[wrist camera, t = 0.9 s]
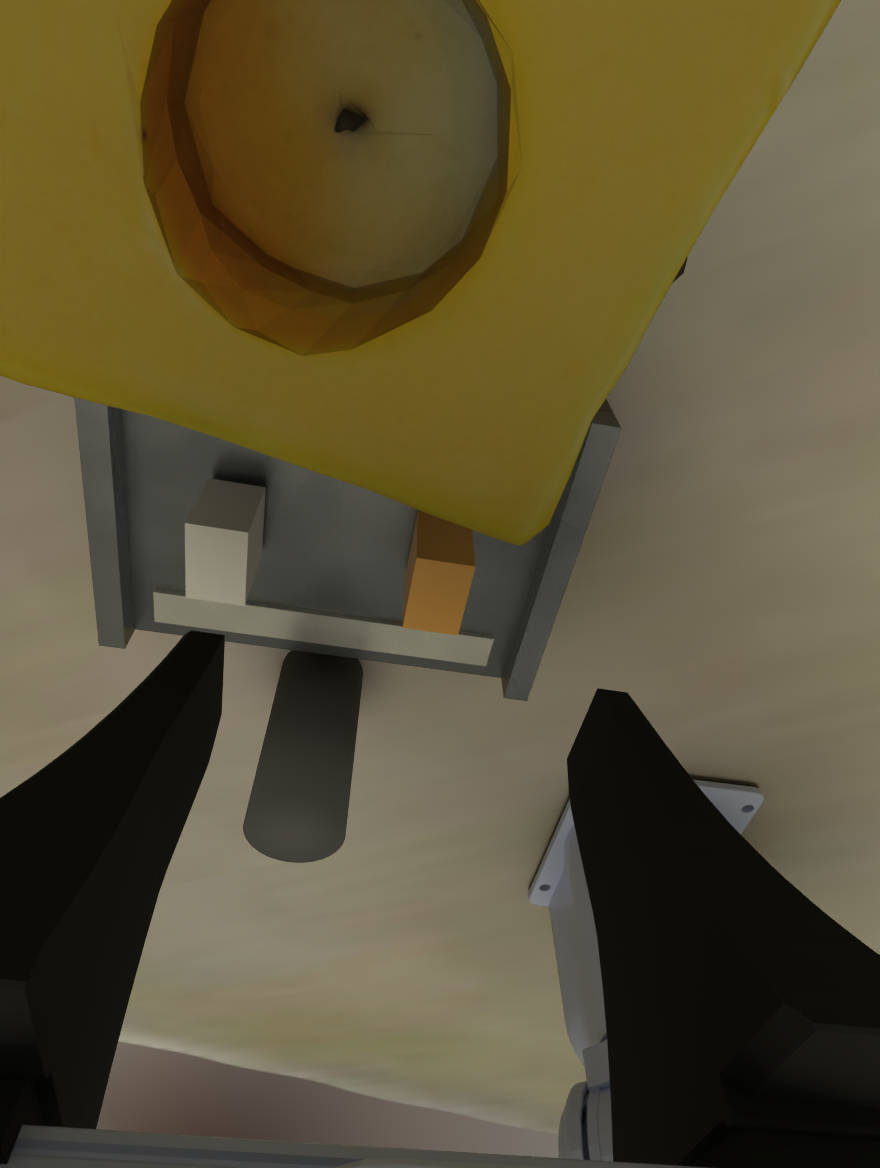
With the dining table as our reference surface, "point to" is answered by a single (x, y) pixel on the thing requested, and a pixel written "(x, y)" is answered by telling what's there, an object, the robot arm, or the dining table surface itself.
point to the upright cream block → (224, 542)
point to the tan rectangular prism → (438, 575)
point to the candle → (371, 218)
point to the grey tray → (314, 553)
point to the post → (306, 760)
